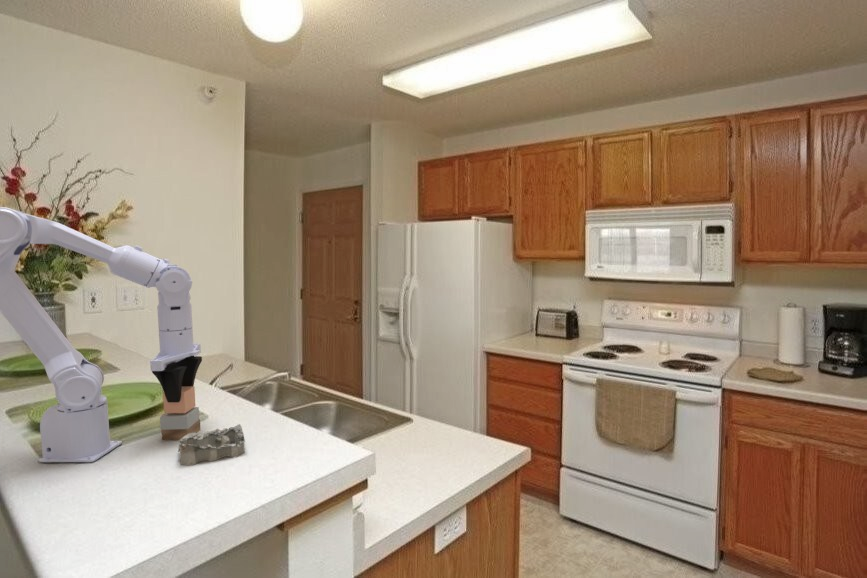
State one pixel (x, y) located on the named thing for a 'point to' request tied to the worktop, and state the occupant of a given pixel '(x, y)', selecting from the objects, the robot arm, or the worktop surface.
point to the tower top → (179, 419)
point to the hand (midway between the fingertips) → (179, 398)
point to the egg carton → (200, 445)
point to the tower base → (180, 432)
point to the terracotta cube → (181, 401)
